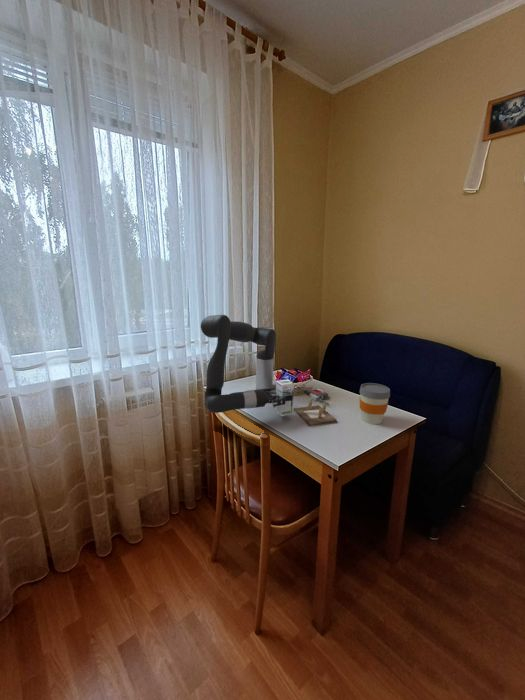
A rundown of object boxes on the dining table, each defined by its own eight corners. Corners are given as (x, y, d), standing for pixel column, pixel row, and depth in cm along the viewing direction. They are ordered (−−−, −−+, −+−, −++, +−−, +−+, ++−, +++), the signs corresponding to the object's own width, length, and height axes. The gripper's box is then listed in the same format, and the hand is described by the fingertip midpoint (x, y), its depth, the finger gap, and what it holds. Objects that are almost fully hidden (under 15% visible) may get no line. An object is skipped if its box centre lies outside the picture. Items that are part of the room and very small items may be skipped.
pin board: (293, 410, 147) (294, 399, 146) (318, 407, 152) (319, 396, 150) (309, 426, 133) (310, 414, 131) (336, 422, 137) (337, 410, 136)
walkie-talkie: (300, 394, 168) (327, 407, 152) (300, 386, 167) (327, 399, 151) (312, 391, 173) (339, 404, 157) (312, 383, 172) (340, 395, 156)
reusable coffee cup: (350, 416, 143) (353, 385, 139) (369, 411, 149) (373, 381, 145) (372, 428, 132) (377, 395, 129) (392, 422, 139) (397, 390, 135)
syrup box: (280, 416, 136) (282, 384, 133) (274, 410, 142) (276, 379, 138) (292, 414, 139) (294, 383, 135) (286, 408, 144) (287, 378, 140)
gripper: (258, 397, 126) (297, 393, 131) (248, 384, 139) (283, 381, 144) (258, 414, 128) (296, 409, 133) (247, 400, 141) (282, 396, 146)
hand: (289, 394), depth 139 cm, fingers closed on syrup box, 6 cm apart
